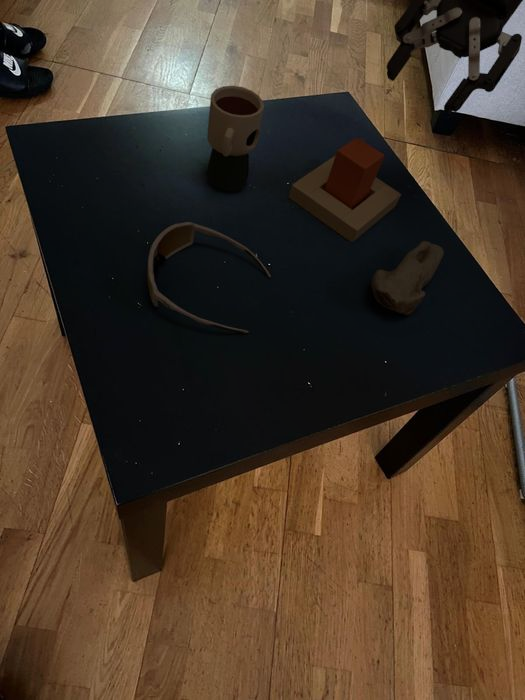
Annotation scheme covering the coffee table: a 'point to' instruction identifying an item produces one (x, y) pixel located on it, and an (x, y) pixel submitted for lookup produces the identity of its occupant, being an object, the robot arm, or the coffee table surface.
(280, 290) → the coffee table surface
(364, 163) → the post
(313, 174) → the base pad
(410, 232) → the coffee table surface
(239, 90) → the character mug
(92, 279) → the coffee table surface
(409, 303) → the sculpture
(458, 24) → the robot arm
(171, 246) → the sunglasses
